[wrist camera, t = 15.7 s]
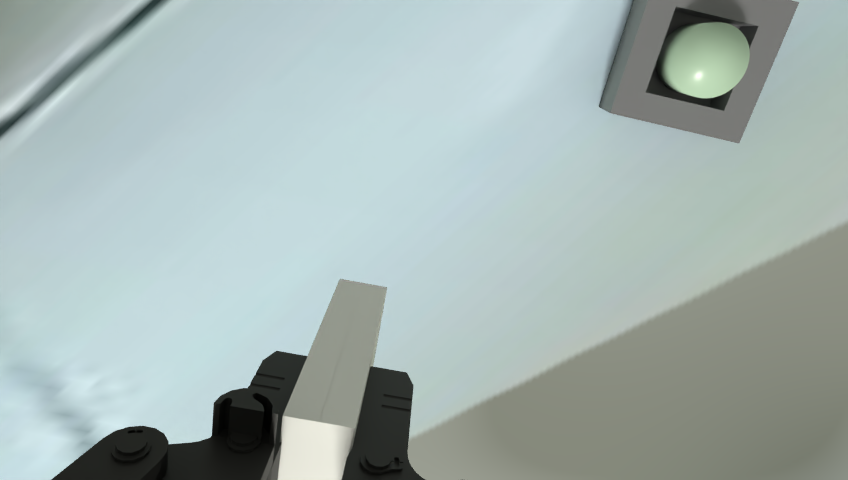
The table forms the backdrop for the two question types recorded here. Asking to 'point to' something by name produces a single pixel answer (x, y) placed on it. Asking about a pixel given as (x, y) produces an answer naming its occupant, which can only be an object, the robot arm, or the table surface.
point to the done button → (703, 59)
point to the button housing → (654, 102)
